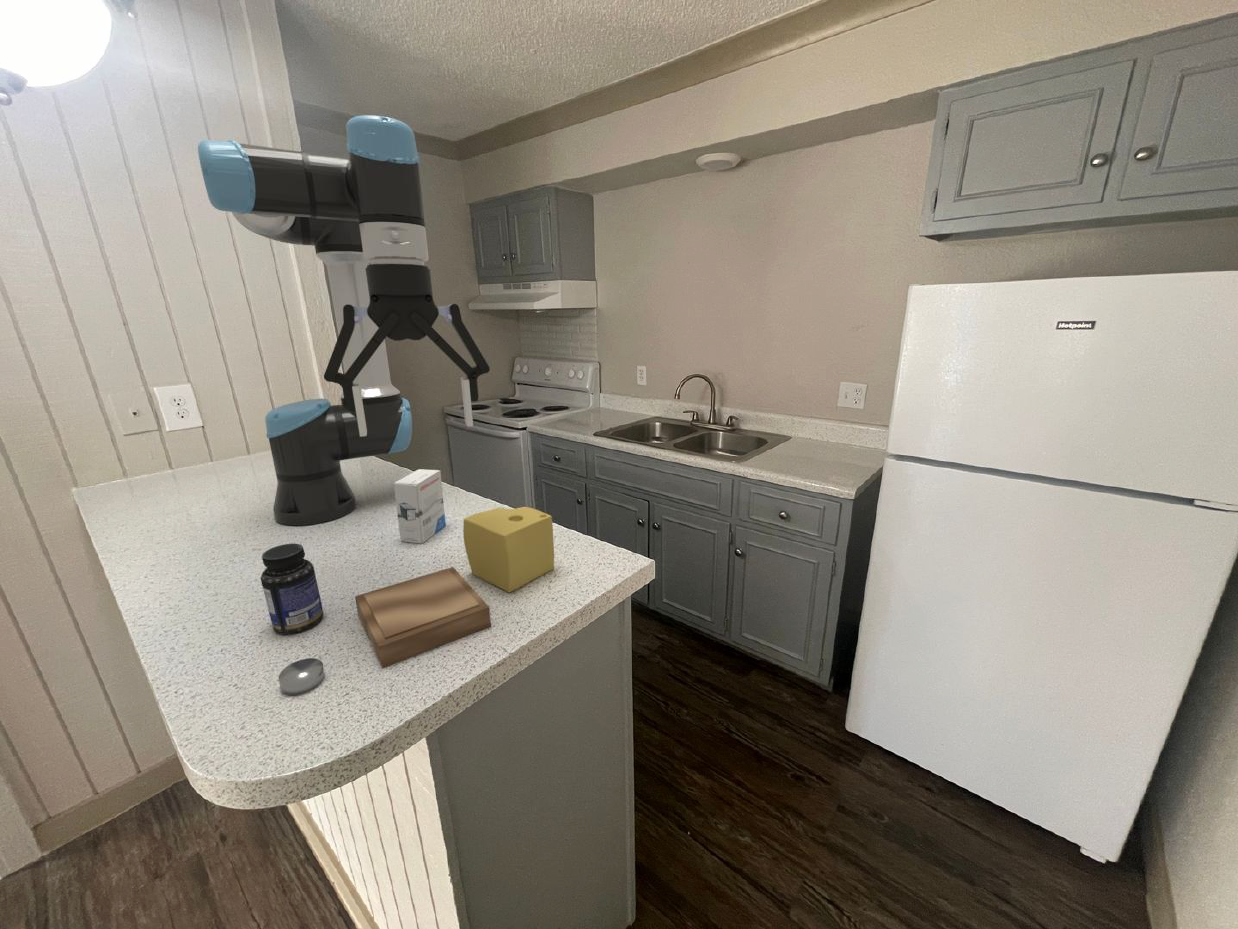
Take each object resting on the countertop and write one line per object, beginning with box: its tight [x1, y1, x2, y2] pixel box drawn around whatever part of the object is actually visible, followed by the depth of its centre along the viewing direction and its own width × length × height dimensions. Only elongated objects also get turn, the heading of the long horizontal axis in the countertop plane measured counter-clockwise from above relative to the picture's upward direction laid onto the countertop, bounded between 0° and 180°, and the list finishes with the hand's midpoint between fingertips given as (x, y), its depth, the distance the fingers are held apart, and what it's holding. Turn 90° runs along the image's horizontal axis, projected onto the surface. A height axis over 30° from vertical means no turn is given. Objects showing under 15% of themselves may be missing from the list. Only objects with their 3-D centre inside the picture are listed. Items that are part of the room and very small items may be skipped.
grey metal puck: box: [278, 657, 326, 697], centre depth 60 cm, size 4×4×2 cm
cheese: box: [462, 506, 555, 593], centre depth 83 cm, size 10×11×10 cm
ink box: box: [393, 468, 446, 544], centre depth 98 cm, size 9×5×12 cm, turn 168°
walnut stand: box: [354, 566, 492, 668], centre depth 71 cm, size 14×14×3 cm
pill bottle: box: [260, 543, 324, 635], centre depth 70 cm, size 6×6×11 cm
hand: (418, 429), depth 71 cm, fingers open, 13 cm apart
